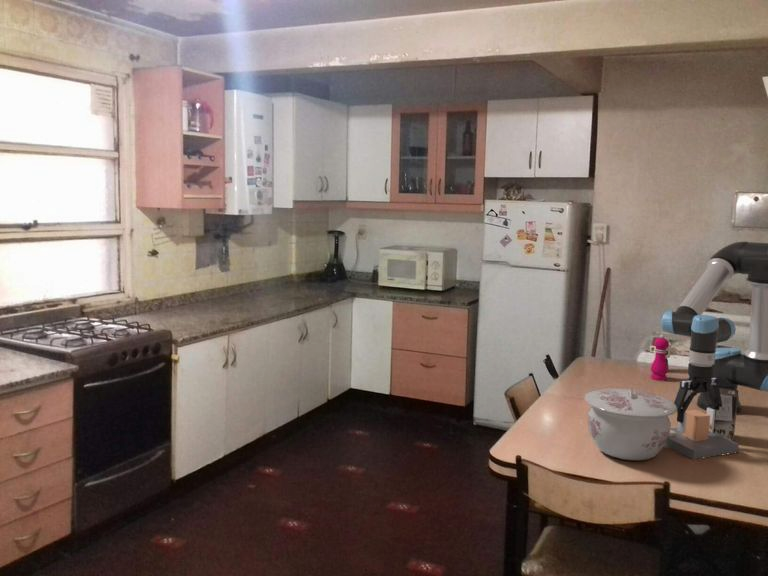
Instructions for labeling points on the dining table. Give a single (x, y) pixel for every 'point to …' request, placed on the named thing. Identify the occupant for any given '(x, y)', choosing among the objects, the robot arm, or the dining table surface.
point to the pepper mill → (660, 359)
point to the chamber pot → (629, 422)
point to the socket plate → (700, 445)
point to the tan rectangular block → (697, 425)
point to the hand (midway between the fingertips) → (695, 429)
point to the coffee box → (726, 414)
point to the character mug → (666, 353)
